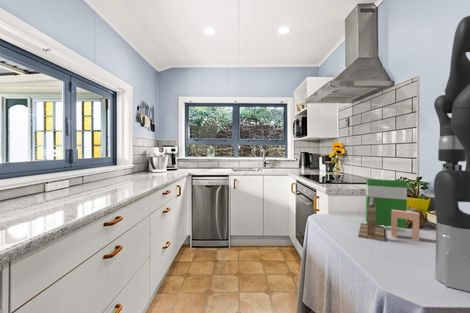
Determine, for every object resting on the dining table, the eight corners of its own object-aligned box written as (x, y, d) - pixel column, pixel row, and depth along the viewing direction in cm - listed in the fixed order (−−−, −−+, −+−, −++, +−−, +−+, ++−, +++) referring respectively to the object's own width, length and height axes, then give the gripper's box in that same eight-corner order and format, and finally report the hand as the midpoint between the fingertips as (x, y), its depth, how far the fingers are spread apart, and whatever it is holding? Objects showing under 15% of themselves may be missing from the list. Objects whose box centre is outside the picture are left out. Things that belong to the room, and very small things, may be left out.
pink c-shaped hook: (418, 241, 102) (419, 213, 102) (391, 236, 107) (392, 210, 107) (417, 239, 105) (418, 212, 104) (391, 234, 110) (391, 209, 110)
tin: (425, 228, 120) (426, 212, 120) (419, 228, 121) (419, 212, 121) (410, 220, 135) (410, 206, 135) (404, 220, 136) (404, 205, 135)
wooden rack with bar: (384, 241, 101) (385, 204, 101) (358, 236, 106) (359, 202, 106) (383, 228, 119) (383, 197, 119) (360, 225, 124) (361, 195, 124)
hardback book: (402, 224, 126) (403, 180, 126) (406, 228, 120) (407, 182, 119) (365, 220, 134) (366, 178, 133) (366, 223, 127) (367, 180, 127)
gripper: (473, 147, 77) (471, 196, 78) (459, 149, 90) (458, 190, 90) (443, 147, 81) (442, 194, 82) (434, 148, 93) (433, 189, 94)
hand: (450, 192), depth 86 cm, fingers open, 8 cm apart
